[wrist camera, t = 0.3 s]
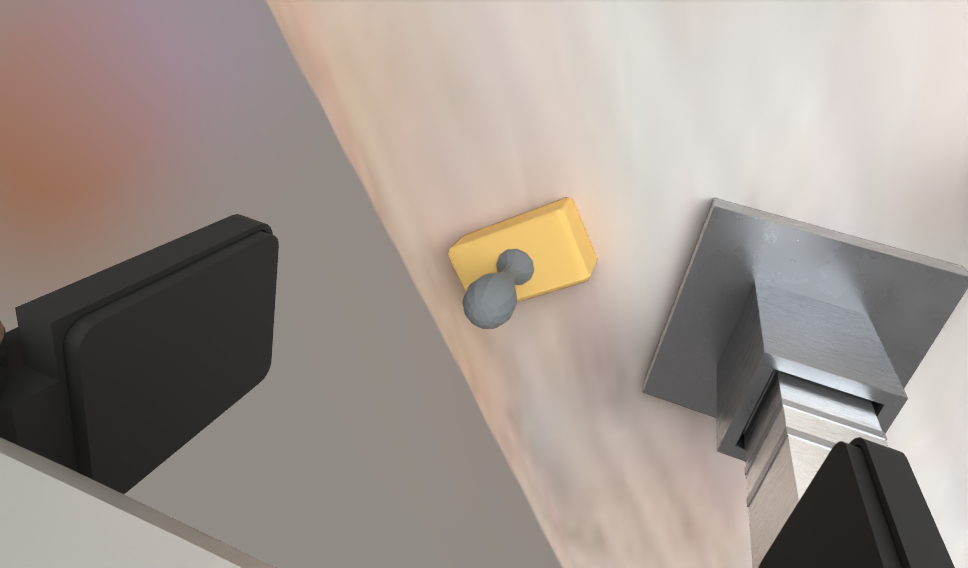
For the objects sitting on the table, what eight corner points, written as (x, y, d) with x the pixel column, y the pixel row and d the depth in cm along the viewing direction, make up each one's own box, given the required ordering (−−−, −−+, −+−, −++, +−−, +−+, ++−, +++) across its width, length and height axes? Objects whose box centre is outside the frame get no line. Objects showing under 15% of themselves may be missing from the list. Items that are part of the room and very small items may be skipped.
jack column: (765, 301, 43) (804, 541, 24) (843, 325, 42) (950, 596, 23) (737, 361, 45) (753, 623, 26) (810, 386, 44) (882, 676, 25)
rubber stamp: (490, 296, 53) (435, 369, 42) (461, 235, 51) (397, 295, 41) (599, 262, 48) (568, 334, 38) (571, 194, 47) (531, 250, 36)
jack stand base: (714, 197, 43) (714, 260, 33) (962, 266, 40) (1048, 359, 30) (645, 378, 51) (627, 476, 41) (849, 449, 48) (887, 574, 37)
